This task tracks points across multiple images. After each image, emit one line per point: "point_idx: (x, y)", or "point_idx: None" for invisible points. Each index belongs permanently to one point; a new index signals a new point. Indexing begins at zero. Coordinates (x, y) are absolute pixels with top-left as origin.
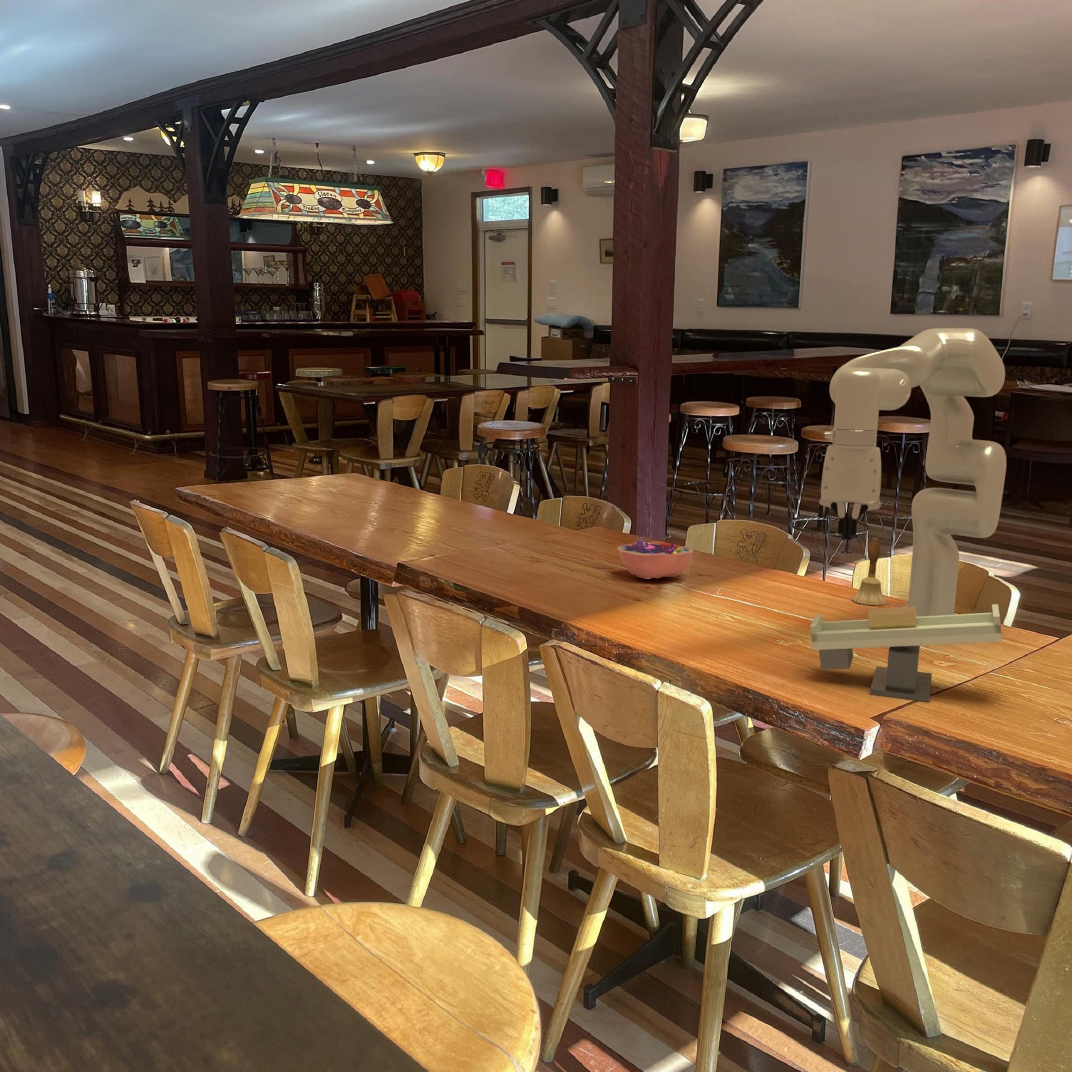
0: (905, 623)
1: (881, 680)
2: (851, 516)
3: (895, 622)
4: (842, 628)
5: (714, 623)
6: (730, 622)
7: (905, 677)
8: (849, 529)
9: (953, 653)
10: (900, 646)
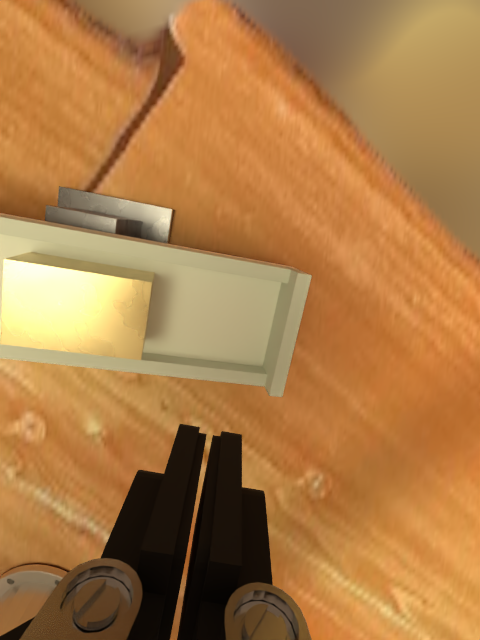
0: (47, 260)
1: None
2: (144, 615)
3: (76, 265)
4: (217, 362)
5: (433, 566)
6: (401, 578)
7: (95, 212)
8: (183, 474)
9: (6, 486)
10: None
